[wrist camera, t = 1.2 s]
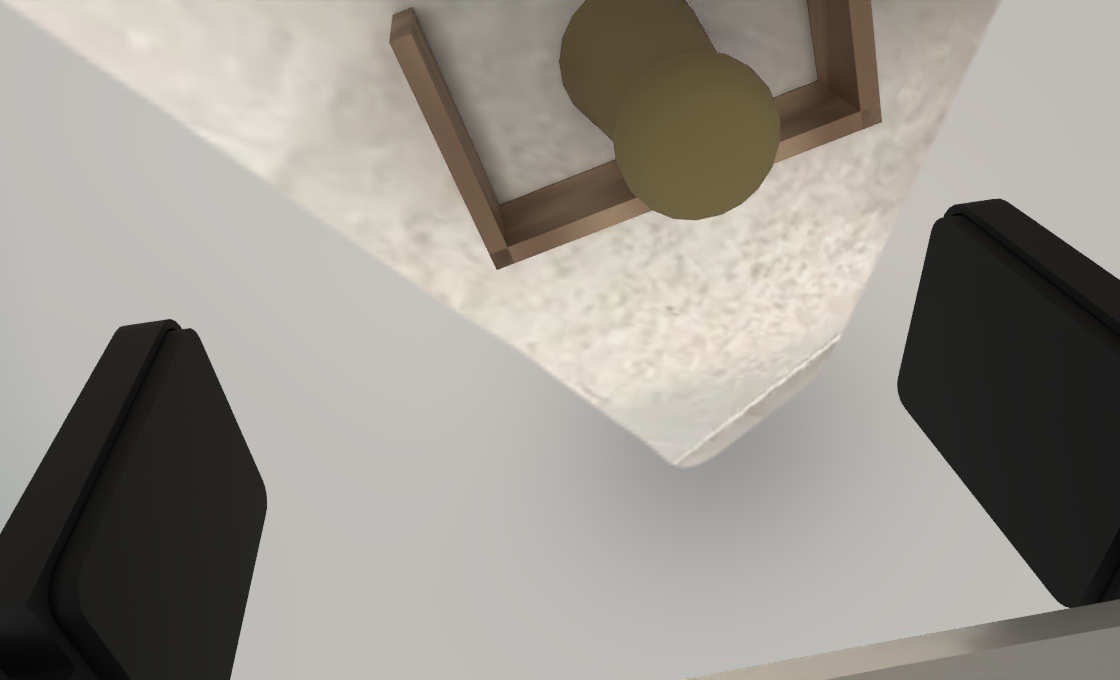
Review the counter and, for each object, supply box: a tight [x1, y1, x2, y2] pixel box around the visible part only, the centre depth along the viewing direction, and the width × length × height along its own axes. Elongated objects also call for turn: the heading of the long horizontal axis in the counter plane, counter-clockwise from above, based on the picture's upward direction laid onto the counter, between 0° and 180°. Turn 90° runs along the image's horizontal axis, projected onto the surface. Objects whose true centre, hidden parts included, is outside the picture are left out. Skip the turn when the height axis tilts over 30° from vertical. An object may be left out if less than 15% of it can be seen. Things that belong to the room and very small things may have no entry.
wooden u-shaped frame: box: [389, 0, 882, 270], centre depth 30 cm, size 17×10×4 cm, turn 109°
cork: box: [559, 0, 780, 220], centre depth 27 cm, size 6×6×11 cm
